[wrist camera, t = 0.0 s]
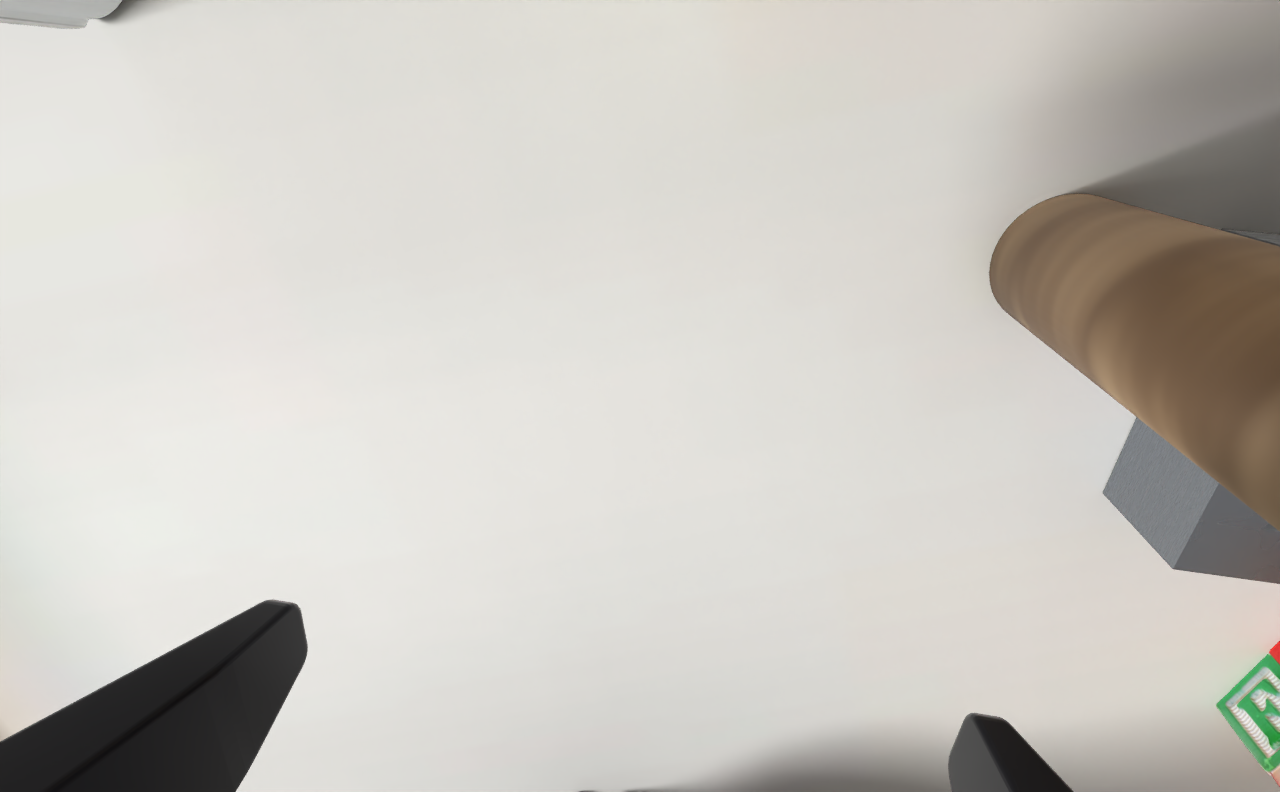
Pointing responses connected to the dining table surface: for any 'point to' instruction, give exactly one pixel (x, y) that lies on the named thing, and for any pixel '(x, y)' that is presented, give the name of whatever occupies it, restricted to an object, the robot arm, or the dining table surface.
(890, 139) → the dining table surface
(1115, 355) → the peg
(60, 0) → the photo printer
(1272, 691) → the stack of blocks
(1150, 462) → the socket
